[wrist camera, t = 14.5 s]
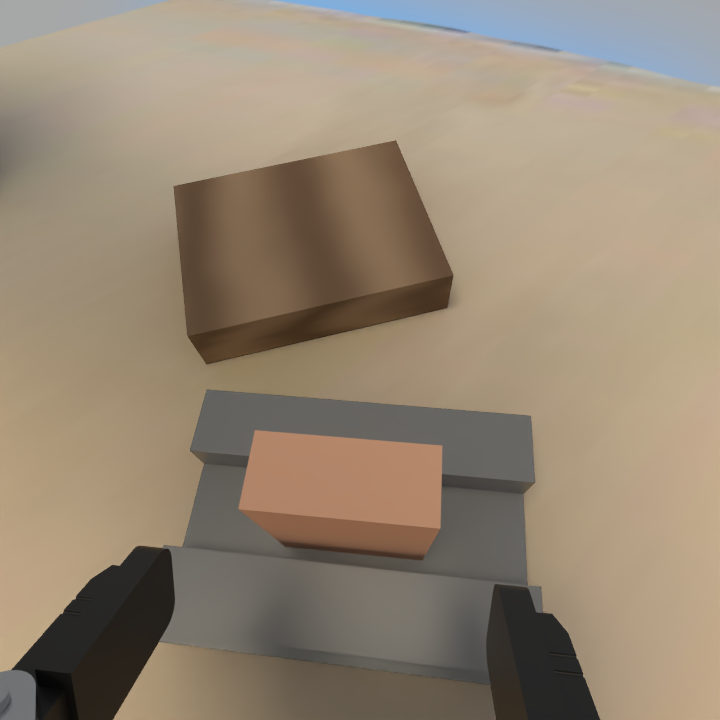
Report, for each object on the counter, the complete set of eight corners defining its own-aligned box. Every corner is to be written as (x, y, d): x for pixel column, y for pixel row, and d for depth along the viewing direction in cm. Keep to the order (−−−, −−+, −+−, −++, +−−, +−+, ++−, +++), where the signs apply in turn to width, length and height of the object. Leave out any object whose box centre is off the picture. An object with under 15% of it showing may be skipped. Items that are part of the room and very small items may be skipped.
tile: (285, 546, 22) (238, 509, 15) (294, 489, 23) (254, 430, 16) (422, 560, 21) (440, 528, 14) (424, 501, 22) (442, 445, 15)
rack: (167, 641, 21) (136, 643, 19) (227, 404, 26) (209, 380, 24) (525, 687, 20) (547, 696, 17) (515, 428, 25) (530, 405, 22)
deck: (206, 363, 28) (187, 336, 25) (190, 221, 33) (173, 186, 30) (447, 307, 29) (453, 275, 26) (395, 178, 34) (395, 140, 31)
